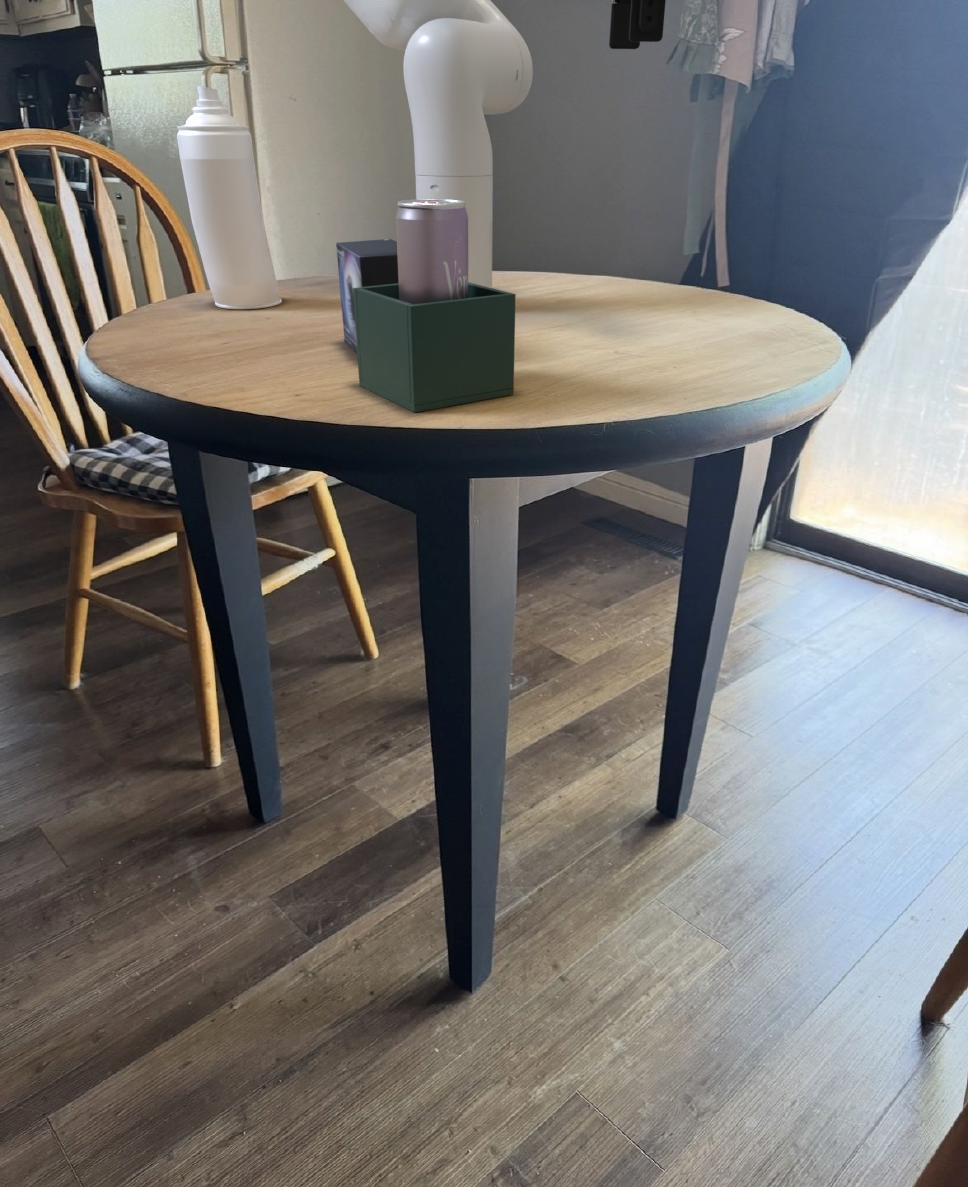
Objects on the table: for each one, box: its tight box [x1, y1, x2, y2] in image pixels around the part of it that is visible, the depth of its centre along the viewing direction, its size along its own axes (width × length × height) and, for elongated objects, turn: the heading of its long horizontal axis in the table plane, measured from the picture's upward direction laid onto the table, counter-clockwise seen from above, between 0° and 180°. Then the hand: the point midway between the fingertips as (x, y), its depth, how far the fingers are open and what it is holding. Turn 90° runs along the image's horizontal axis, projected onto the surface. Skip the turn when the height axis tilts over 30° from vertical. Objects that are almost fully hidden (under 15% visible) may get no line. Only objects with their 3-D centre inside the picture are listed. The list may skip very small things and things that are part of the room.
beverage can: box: [395, 198, 469, 304], centre depth 75 cm, size 6×6×15 cm
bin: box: [353, 282, 516, 413], centre depth 77 cm, size 10×10×9 cm
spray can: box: [176, 84, 283, 310], centre depth 109 cm, size 12×11×25 cm
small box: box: [335, 238, 399, 355], centre depth 90 cm, size 11×6×10 cm, turn 21°
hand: (634, 45), depth 89 cm, fingers open, 9 cm apart
